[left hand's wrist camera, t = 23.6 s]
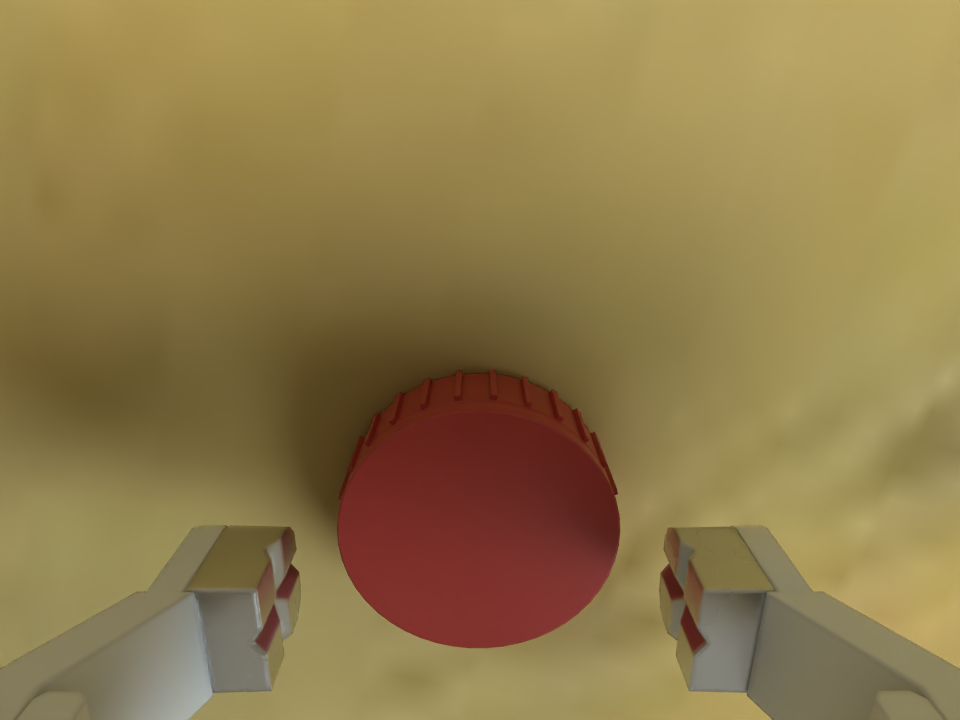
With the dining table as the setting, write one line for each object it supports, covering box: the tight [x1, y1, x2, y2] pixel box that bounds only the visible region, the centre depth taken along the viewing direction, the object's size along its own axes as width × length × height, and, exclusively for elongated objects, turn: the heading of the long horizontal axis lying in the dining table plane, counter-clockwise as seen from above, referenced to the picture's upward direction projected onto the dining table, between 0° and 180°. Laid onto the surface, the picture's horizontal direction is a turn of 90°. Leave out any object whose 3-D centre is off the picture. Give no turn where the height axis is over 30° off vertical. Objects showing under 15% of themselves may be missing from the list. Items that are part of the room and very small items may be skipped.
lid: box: [337, 370, 620, 648], centre depth 12 cm, size 5×5×2 cm
